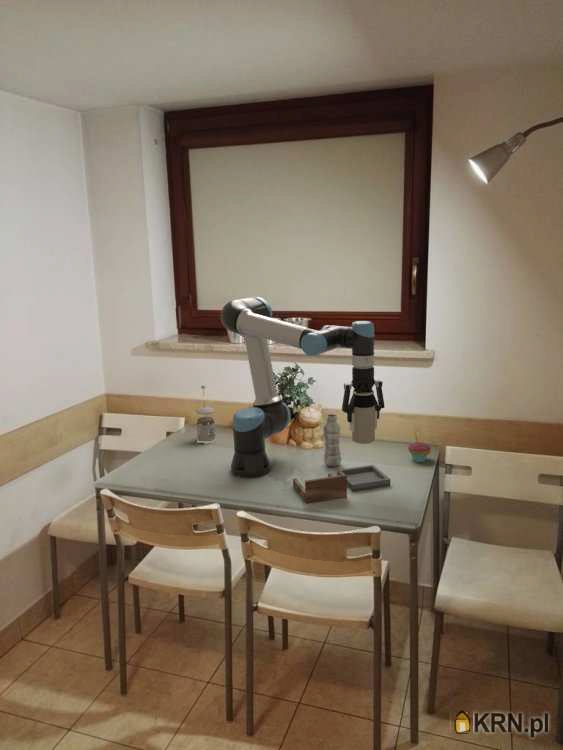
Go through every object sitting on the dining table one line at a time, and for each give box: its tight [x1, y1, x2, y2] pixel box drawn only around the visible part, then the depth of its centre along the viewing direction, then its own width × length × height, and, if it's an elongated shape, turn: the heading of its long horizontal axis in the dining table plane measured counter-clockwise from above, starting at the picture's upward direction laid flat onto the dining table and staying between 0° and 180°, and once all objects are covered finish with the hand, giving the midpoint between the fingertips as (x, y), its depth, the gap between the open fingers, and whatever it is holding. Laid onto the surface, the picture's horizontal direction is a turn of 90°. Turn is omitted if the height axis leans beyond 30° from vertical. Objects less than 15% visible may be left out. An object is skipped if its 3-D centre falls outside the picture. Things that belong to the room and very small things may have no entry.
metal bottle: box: [322, 413, 342, 467], centre depth 235 cm, size 6×7×20 cm
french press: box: [195, 385, 216, 441], centre depth 267 cm, size 10×12×25 cm
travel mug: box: [351, 390, 376, 445], centre depth 216 cm, size 8×8×18 cm
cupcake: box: [407, 431, 432, 463], centre depth 238 cm, size 9×8×12 cm
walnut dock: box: [292, 473, 348, 505], centre depth 212 cm, size 15×14×8 cm
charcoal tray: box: [336, 464, 391, 492], centre depth 221 cm, size 14×14×2 cm
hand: (363, 429), depth 217 cm, fingers closed on travel mug, 8 cm apart
